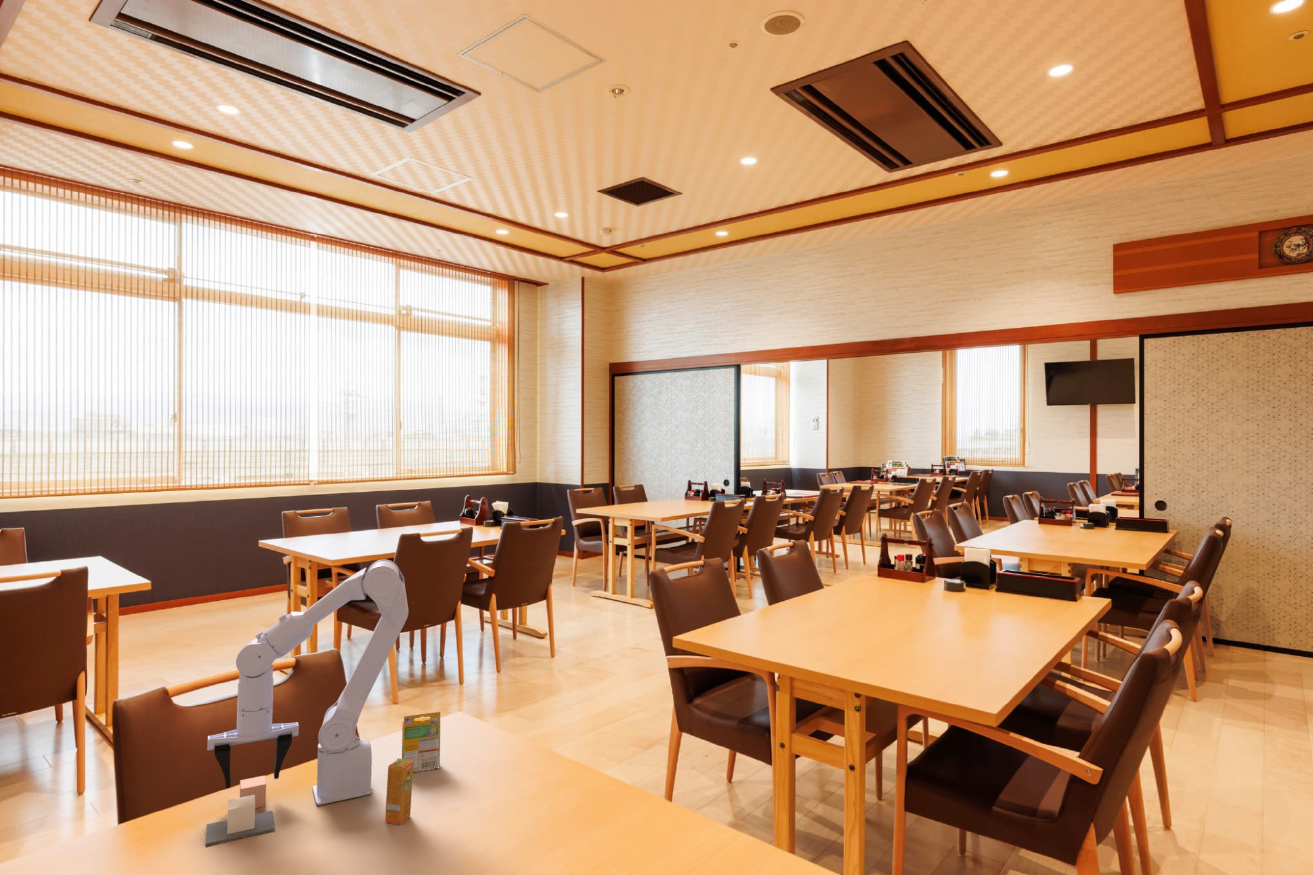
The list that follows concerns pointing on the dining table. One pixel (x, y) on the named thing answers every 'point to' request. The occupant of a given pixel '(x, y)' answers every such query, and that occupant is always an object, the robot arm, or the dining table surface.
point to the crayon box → (421, 741)
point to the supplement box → (399, 791)
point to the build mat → (219, 831)
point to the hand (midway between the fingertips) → (252, 781)
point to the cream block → (241, 814)
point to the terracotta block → (254, 789)
